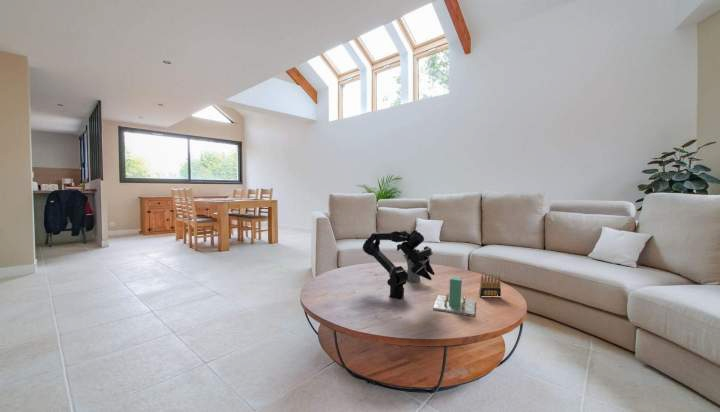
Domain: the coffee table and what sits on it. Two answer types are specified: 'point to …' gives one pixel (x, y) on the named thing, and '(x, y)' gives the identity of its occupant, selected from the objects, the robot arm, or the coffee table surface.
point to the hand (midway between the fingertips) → (432, 277)
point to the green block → (455, 291)
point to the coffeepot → (411, 276)
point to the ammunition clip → (490, 286)
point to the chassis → (464, 308)
